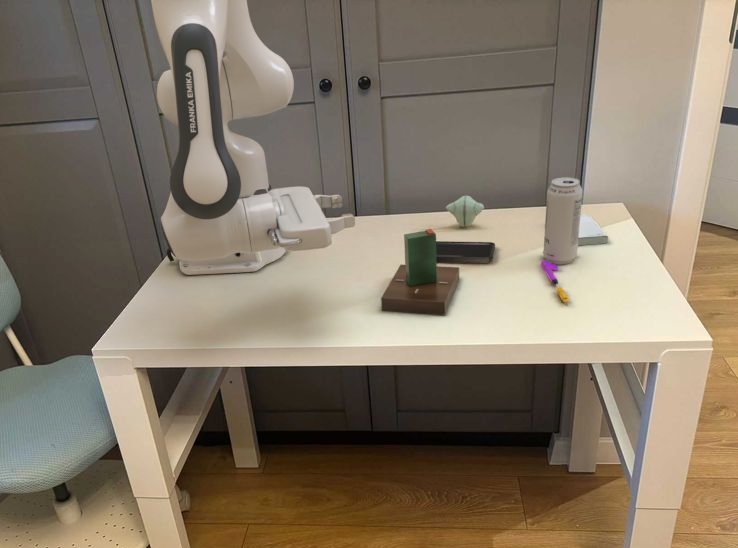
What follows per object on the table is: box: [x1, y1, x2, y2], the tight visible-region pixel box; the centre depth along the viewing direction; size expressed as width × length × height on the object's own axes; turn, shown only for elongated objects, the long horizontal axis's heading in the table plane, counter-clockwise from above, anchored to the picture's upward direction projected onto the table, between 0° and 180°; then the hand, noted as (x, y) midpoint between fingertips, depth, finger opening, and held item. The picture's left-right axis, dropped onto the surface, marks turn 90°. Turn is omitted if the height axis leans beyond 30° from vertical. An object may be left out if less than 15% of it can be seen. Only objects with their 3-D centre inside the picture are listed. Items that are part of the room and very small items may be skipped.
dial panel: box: [380, 264, 460, 316], centre depth 126 cm, size 14×11×3 cm
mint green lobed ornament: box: [445, 195, 485, 228], centre depth 151 cm, size 8×4×7 cm, turn 74°
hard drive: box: [578, 213, 609, 246], centre depth 144 cm, size 2×8×12 cm
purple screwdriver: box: [540, 259, 570, 304], centre depth 125 cm, size 3×1×16 cm
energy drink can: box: [542, 176, 584, 265], centre depth 130 cm, size 6×6×15 cm
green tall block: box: [403, 228, 437, 286], centre depth 124 cm, size 5×2×9 cm, turn 101°
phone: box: [436, 240, 496, 264], centre depth 140 cm, size 8×1×15 cm
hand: (347, 209), depth 117 cm, fingers open, 8 cm apart
